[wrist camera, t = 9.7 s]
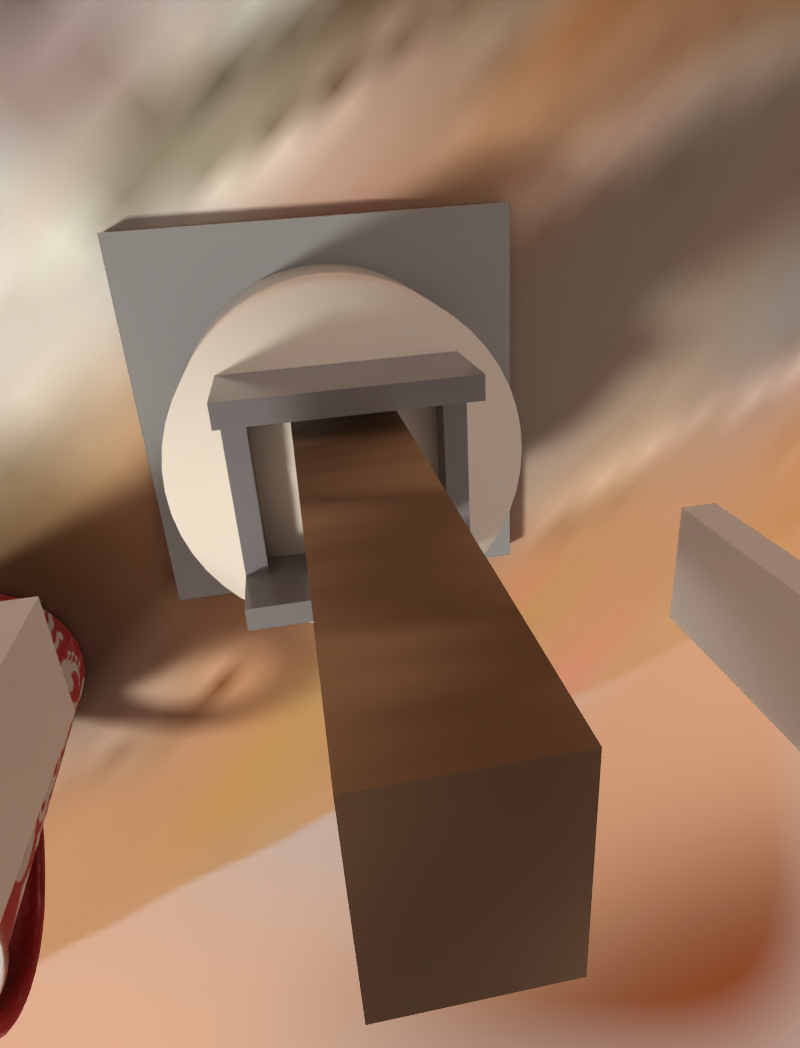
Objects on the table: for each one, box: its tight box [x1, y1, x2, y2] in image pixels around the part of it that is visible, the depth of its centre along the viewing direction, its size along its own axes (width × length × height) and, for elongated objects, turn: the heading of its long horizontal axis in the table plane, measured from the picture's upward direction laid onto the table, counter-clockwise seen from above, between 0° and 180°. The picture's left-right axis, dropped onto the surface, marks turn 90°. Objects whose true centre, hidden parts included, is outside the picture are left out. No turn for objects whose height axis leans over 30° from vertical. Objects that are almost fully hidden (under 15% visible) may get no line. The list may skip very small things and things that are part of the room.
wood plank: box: [291, 410, 602, 1025], centre depth 15 cm, size 3×4×15 cm
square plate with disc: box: [97, 202, 522, 631], centre depth 24 cm, size 14×14×10 cm
